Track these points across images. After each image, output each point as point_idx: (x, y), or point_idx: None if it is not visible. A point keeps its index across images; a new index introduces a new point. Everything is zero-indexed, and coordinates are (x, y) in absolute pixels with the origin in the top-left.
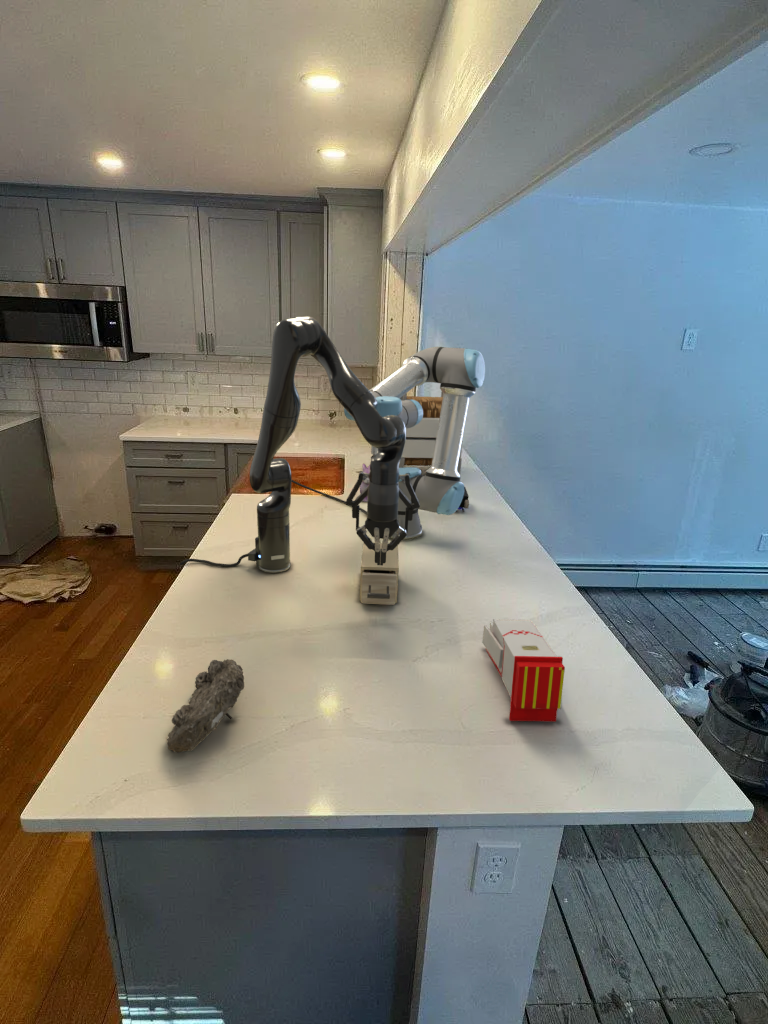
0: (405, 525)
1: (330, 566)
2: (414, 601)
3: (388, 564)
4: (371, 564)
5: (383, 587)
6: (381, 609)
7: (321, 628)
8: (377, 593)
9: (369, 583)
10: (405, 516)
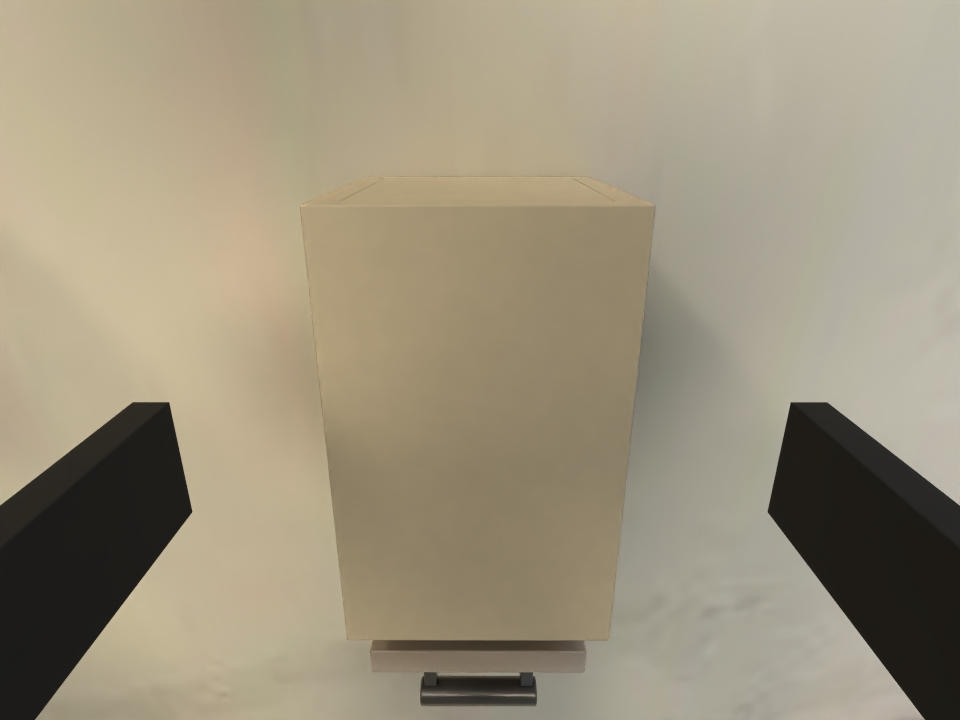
0: (824, 578)
1: (120, 56)
2: (661, 464)
3: (540, 603)
4: (418, 611)
5: None
6: None
7: (264, 677)
8: (472, 701)
9: None
10: (918, 619)
